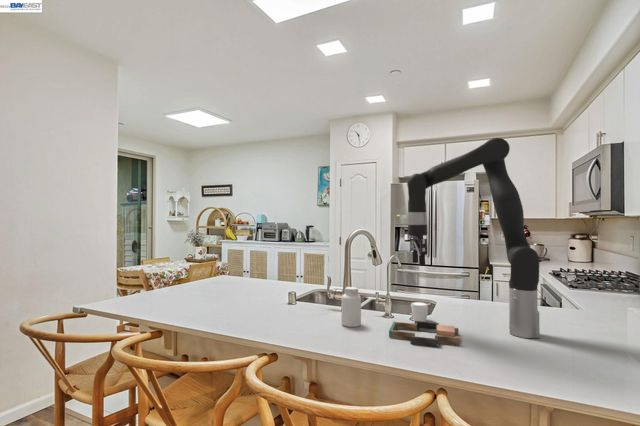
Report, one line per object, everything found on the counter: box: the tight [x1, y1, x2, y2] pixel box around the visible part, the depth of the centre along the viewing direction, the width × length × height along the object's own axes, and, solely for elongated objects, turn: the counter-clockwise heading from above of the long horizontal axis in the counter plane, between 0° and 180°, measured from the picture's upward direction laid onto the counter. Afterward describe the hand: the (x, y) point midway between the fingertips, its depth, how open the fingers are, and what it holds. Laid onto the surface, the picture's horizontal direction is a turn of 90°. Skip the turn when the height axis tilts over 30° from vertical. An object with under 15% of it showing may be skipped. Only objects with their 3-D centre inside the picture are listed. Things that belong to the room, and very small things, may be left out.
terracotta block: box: [436, 324, 456, 337], centre depth 125 cm, size 6×7×4 cm
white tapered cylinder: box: [410, 301, 429, 322], centre depth 148 cm, size 7×7×7 cm
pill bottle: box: [341, 286, 362, 328], centre depth 142 cm, size 8×8×15 cm
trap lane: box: [388, 321, 461, 348], centre depth 127 cm, size 24×20×2 cm
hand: (418, 264), depth 138 cm, fingers open, 8 cm apart
